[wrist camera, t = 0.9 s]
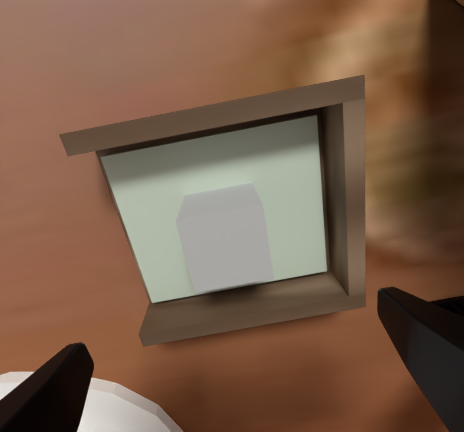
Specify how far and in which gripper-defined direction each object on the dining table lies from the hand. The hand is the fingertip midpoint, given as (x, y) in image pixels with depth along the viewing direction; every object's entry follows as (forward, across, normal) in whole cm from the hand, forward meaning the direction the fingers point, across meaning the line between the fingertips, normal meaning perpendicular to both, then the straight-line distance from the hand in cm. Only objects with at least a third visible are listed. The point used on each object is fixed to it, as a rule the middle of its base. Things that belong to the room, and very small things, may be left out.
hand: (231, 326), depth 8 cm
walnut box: (+11, 0, 0) cm, 11 cm away
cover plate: (+10, 0, 0) cm, 10 cm away
